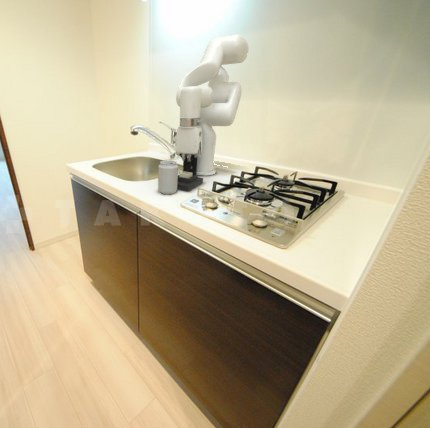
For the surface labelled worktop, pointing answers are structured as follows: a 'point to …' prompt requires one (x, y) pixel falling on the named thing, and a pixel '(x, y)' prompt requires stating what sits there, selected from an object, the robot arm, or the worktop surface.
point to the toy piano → (188, 183)
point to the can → (167, 177)
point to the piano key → (186, 174)
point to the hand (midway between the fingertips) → (186, 169)
